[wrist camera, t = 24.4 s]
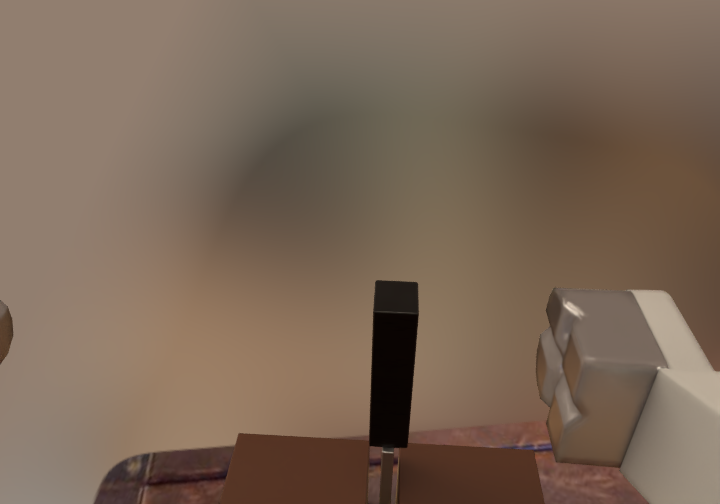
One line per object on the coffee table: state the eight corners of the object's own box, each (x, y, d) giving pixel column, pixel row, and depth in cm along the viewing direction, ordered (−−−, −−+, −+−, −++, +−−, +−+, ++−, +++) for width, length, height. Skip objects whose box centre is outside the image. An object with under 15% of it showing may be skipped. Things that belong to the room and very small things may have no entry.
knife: (365, 560, 38) (373, 316, 28) (367, 515, 41) (375, 275, 30) (398, 562, 38) (418, 318, 27) (398, 517, 40) (418, 277, 30)
